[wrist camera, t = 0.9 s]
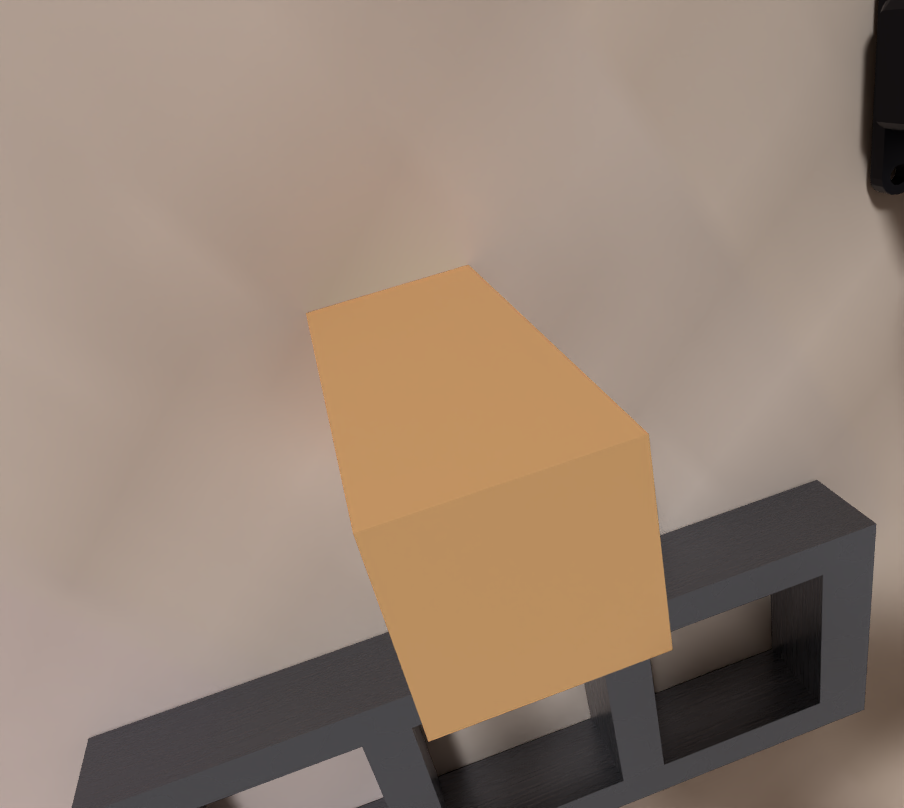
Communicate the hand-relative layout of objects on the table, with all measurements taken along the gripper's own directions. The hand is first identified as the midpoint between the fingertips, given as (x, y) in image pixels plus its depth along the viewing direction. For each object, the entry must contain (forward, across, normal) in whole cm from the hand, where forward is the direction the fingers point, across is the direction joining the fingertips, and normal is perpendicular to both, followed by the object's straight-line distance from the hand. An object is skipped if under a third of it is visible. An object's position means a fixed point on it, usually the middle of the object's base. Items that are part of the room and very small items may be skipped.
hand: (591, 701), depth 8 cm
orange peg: (+11, 0, 0) cm, 11 cm away
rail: (+11, 0, +12) cm, 16 cm away
